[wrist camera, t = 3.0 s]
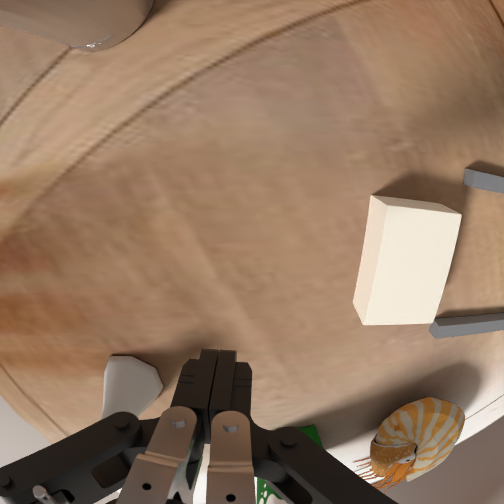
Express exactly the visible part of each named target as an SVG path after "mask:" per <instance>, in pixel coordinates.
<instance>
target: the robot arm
mask: <svg viewBox="0 0 504 504" xmlns="http://www.w3.org/2000/svg"><path fill="white" fill-rule="evenodd" d="M153 2H154V0H0V26H4V27H8V28H12V29H15V30H19V31H23V32H26V33H30V34H33V35H37V36H40V37H43V38H46V39H49V40H53V41H56V42H59V43H62V44H65V45H68V46H69V47H72V48H76V49H79V50H82V51H90V52H92V51H100V50H104V49H107V48H110V47H112V46H114V45H116V44H118V43H120V42H122V41H123V40H124V39H126V38H127V37H129V36H130V35H131V34H132V33H133V32H134V31H135V30H136V29H138V28H139V26H140V25H141V24H142V23H143V21H144V20H145V19H146V17H147V15H148V14H149V12H150V10H151V8H152V5H153ZM251 388H252V369H251V368H250V366H249V364H248V363H246V362H237V352H236V351H233V350H220V351H219V350H215V349H202V351H201V355H200V358H199V360H197V359H189V360H188V361H187V362H186V363H185V364H184V365H183V367H182V371H181V374H180V377H179V380H178V383H177V387H176V390H175V393H174V396H173V400H172V403H171V406H170V408H168V409H167V410H165V411H164V412H163V413H162V415H161V417H158V418H155V419H148V420H139V419H138V418H137V416H135V415H134V414H132V413H130V412H125V411H121V412H116V413H114V414H112V415H110V416H108V417H106V418H104V419H102V420H100V421H98V422H96V423H94V424H93V425H91V426H89V427H87V428H85V429H83V430H81V431H79V432H77V433H75V434H73V435H71V436H69V437H67V438H65V439H63V440H61V441H59V442H56V443H54V444H52V445H50V446H48V447H46V448H44V449H42V450H39V451H37V452H35V453H33V454H31V455H29V456H26V457H24V458H22V459H20V460H18V461H15V462H13V463H10V464H8V465H6V466H3V467H1V468H0V497H1V498H2V499H3V500H4V501H5V503H6V504H93V503H95V502H97V501H99V500H101V499H103V498H104V497H106V496H108V495H109V494H112V493H113V492H115V491H117V490H119V489H120V488H122V487H123V488H122V490H121V492H120V495H119V497H118V498H117V499H114V500H112V501H110V502H108V503H106V504H193V493H194V489H195V485H196V481H197V478H198V474H199V470H200V467H201V463H202V459H203V456H202V454H203V449H204V444H210V463H209V465H208V471H207V491H206V504H256V498H255V483H254V477H258V478H261V479H264V480H265V481H266V483H267V484H268V485H269V486H270V487H271V488H272V489H273V490H274V491H275V492H276V493H277V494H278V495H279V496H280V497H281V498H282V499H283V500H284V501H285V502H286V503H287V504H398V503H397V502H395V501H394V500H392V499H391V498H389V497H388V496H386V495H385V494H383V493H382V492H380V491H379V490H378V489H376V488H375V487H373V486H372V485H371V484H369V483H368V482H366V481H365V480H364V479H362V478H361V477H360V476H358V475H357V474H355V473H354V472H353V471H351V470H350V469H349V468H347V467H346V466H345V465H344V464H342V463H341V462H340V461H338V460H337V459H336V458H334V457H333V456H332V455H331V454H329V453H328V452H327V451H326V450H324V449H323V448H322V447H321V446H319V445H318V444H317V443H316V442H314V441H313V440H312V439H311V438H310V437H308V436H307V435H306V434H305V433H304V432H302V431H301V430H299V429H297V428H293V427H283V428H279V429H277V430H275V431H274V432H273V431H270V430H266V429H263V428H261V427H259V426H258V425H256V424H255V423H254V422H253V420H252V418H251V415H250V411H251Z"/></svg>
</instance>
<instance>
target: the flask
mask: <svg viewBox="0 0 504 504" xmlns="http://www.w3.org/2000/svg"><path fill="white" fill-rule="evenodd" d="M162 389H163V385H162V382H161V380H160V377H159V375H158V373H157V370H156V368H154V367H152V366H150V365H148V364H146V363H144V362H142V361H140V360H138V359H136V358H134V357H132V356H110V357H109V359H108V362H107V365H106V368H105V372H104V394H103V411H102V416H101V420H102V419H104V418H106V417H108V416H110V415H112V414H114V413H116V412H121V411H125V412H130V413H132V414H134V415H135V416H137V418H138V417H139V416H140V415H141V414H142V413H143V412H144V411H145V410H146V409H147V408H148V407H149V406H150V405H151V404H152V403H153V402H154V401H155V400H156V399H157V397H158V395H159V394H160V392H161V390H162Z"/></svg>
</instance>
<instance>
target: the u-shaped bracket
mask: <svg viewBox="0 0 504 504" xmlns="http://www.w3.org/2000/svg"><path fill="white" fill-rule="evenodd" d="M463 184H464V185H467V186H469V187H472V188H478V189H483V190H488V191H494V192H499V193H503V194H504V177H502V176H498V175H493V174H489V173H485V172H480V171H476V170H471V169H466V168H465V174H464V182H463ZM500 330H504V313H496V314H486V315H475V316H463V317H450V318H436V319H434V321H433V323H431V326H430V329H429V331H430V333H431V334H432V335H433V337H434V338H445V337H454V336H463V335H471V334H479V333H486V332H493V331H500Z"/></svg>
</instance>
